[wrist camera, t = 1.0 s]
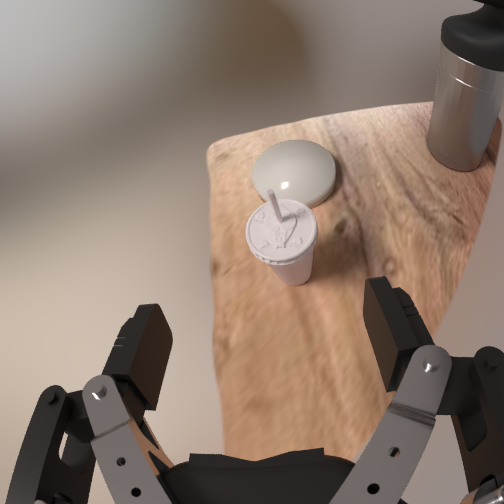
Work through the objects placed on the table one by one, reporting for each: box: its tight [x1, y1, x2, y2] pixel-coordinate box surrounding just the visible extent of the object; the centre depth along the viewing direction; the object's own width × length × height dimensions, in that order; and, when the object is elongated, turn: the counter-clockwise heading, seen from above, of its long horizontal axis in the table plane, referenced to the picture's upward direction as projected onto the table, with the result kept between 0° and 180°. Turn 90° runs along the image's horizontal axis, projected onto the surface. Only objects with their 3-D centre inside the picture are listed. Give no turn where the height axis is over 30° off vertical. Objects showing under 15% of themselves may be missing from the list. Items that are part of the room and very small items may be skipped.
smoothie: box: [246, 189, 318, 286], centre depth 29 cm, size 6×6×14 cm
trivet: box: [252, 140, 336, 209], centre depth 40 cm, size 11×11×2 cm
